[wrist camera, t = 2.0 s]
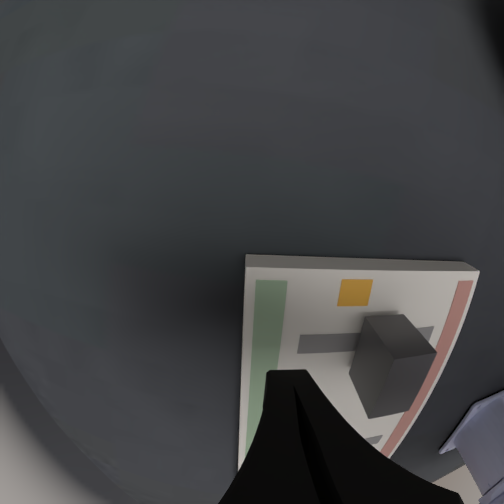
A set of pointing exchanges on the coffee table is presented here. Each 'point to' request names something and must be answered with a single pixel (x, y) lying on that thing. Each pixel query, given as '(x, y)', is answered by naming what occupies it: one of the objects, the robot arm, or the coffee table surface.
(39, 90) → the coffee table surface
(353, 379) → the block
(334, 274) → the breaker panel
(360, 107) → the coffee table surface
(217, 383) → the coffee table surface
